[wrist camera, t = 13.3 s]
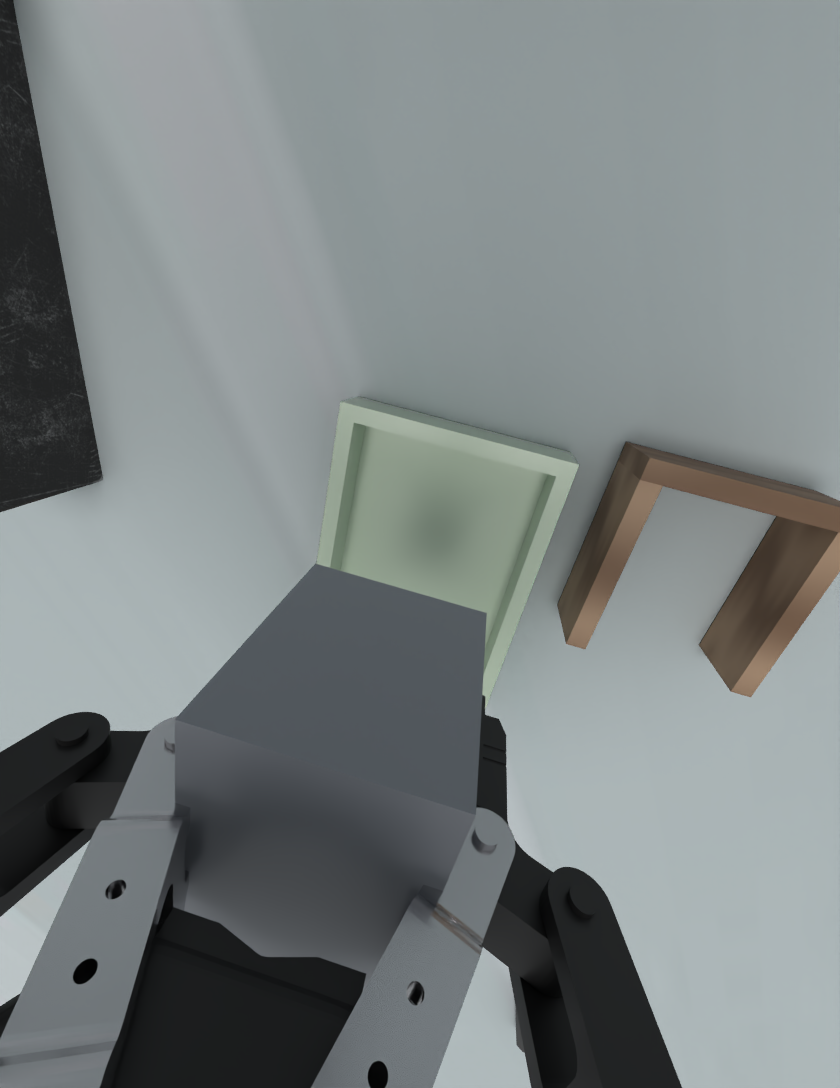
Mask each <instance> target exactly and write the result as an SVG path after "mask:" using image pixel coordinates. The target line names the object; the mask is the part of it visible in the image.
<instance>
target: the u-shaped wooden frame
mask: <svg viewBox="0 0 840 1088" xmlns="http://www.w3.org/2000/svg"><path fill="white" fill-rule="evenodd" d="M663 486H665V487H669V488H673V489H676V490H680V491H684V492H688V493H691V494H695V495H699V496H703V497H707V498H710V499H714V500H718V501H722V502H726V503H729V504H733V505H737V506H741V507H744V508H748V509H752V510H756V511H760V512H763V513H767V514H771V515H775V516H777V517H776V519H775V520H774V522H773V524H772V525H771V527H770V529H769V530H768V532H767V533H766V535H765V537H764V538H763V540H762V542H761V543H760V545H759V547H758V548H757V550H756V552H755V553H754V555H753V557H752V558H751V560H750V562H749V563H748V565H747V567H746V568H745V570H744V572H743V573H742V575H741V577H740V578H739V580H738V581H737V583H736V585H735V586H734V588H733V590H732V591H731V593H730V595H729V596H728V598H727V600H726V601H725V603H724V605H723V606H722V608H721V610H720V611H719V613H718V615H717V616H716V618H715V620H714V621H713V623H712V625H711V626H710V628H709V629H708V631H707V633H706V634H705V636H704V638H703V639H702V641H701V643H700V644H699V646H700V647H701V649H702V650H703V652H704V653H705V655H706V656H707V658H708V659H709V661H710V662H711V663H712V665H713V666H714V668H715V669H716V671H717V672H718V674H719V675H720V676H721V678H722V679H723V681H724V682H725V684H726V685H727V687H728V688H729V690H730V691H731V692H734V693H738V694H741V695H745V696H748V697H751V696H752V695H753V693H754V692H755V691H756V689H757V688H758V686H759V685H760V683H761V682H762V681H763V679H764V678H765V676H766V675H767V674H768V672H769V671H770V669H771V668H772V666H773V665H774V664H775V662H776V661H777V659H778V658H779V657H780V655H781V654H782V652H783V651H784V649H785V648H786V647H787V645H788V644H789V642H790V641H791V640H792V638H793V637H794V635H795V634H796V632H797V631H798V630H799V628H800V627H801V625H802V624H803V623H804V621H805V620H806V618H807V617H808V615H809V614H810V613H811V611H812V610H813V608H814V607H815V606H816V604H817V603H818V601H819V600H820V599H821V597H822V596H823V594H824V593H825V591H826V590H827V589H828V587H829V586H830V584H831V583H832V582H833V580H834V579H835V577H836V576H837V574H838V573H839V572H840V501H838V500H836V499H834V498H831V497H829V496H827V495H824V494H822V493H819V492H817V491H814V490H810V489H806V488H802V487H799V486H795V485H791V484H787V483H783V482H779V481H776V480H772V479H768V478H764V477H760V476H756V475H752V474H749V473H745V472H741V471H737V470H733V469H729V468H725V467H722V466H718V465H714V464H710V463H706V462H702V461H698V460H695V459H691V458H687V457H683V456H679V455H675V454H671V453H668V452H664V451H660V450H656V449H652V448H648V447H644V446H641V445H637V444H633V443H629V442H626V443H625V445H624V448H623V450H622V452H621V455H620V457H619V460H618V462H617V464H616V467H615V469H614V471H613V474H612V476H611V479H610V481H609V483H608V486H607V488H606V491H605V493H604V495H603V498H602V500H601V502H600V505H599V507H598V510H597V512H596V514H595V517H594V519H593V521H592V524H591V526H590V529H589V531H588V533H587V536H586V538H585V540H584V543H583V545H582V548H581V550H580V552H579V555H578V557H577V559H576V562H575V564H574V567H573V569H572V571H571V574H570V576H569V578H568V581H567V583H566V586H565V588H564V590H563V593H562V595H561V597H560V600H559V602H558V605H557V606H558V610H559V614H560V619H561V623H562V627H563V632H564V636H565V641H566V644H569V645H572V646H575V647H579V648H582V649H586V647H587V645H588V642H589V640H590V638H591V636H592V634H593V632H594V630H595V628H596V626H597V623H598V621H599V619H600V617H601V615H602V613H603V611H604V609H605V607H606V605H607V602H608V600H609V598H610V596H611V594H612V592H613V590H614V588H615V586H616V583H617V581H618V579H619V577H620V575H621V573H622V571H623V569H624V567H625V565H626V562H627V560H628V558H629V556H630V554H631V552H632V550H633V548H634V546H635V543H636V541H637V539H638V537H639V535H640V533H641V531H642V529H643V527H644V525H645V522H646V520H647V518H648V516H649V514H650V512H651V510H652V508H653V506H654V503H655V501H656V499H657V497H658V495H659V493H660V491H661V489H662V487H663Z"/></svg>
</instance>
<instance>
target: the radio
mask: <svg viewBox="0 0 840 1088" xmlns="http://www.w3.org/2000/svg"><path fill="white" fill-rule="evenodd" d="M102 478H103V476H102V471H101V465H100V460H99V455H98V449H97V444H96V439H95V434H94V428H93V423H92V418H91V412H90V407H89V402H88V396H87V391H86V386H85V381H84V375H83V370H82V365H81V359H80V354H79V349H78V343H77V338H76V333H75V327H74V322H73V317H72V312H71V306H70V301H69V296H68V290H67V285H66V280H65V274H64V269H63V264H62V258H61V253H60V248H59V243H58V237H57V232H56V227H55V221H54V216H53V211H52V205H51V200H50V195H49V190H48V184H47V179H46V174H45V168H44V163H43V158H42V152H41V147H40V142H39V136H38V131H37V126H36V121H35V115H34V110H33V105H32V99H31V94H30V89H29V83H28V78H27V73H26V67H25V62H24V57H23V52H22V46H21V41H20V36H19V30H18V25H17V20H16V14H15V9H14V4H13V0H0V512H2V511H6V510H9V509H12V508H15V507H19V506H22V505H25V504H28V503H31V502H35V501H38V500H41V499H44V498H48V497H51V496H54V495H57V494H60V493H64V492H67V491H70V490H73V489H77V488H80V487H83V486H86V485H90V484H93V483H96V482H99V481H101V480H102Z"/></svg>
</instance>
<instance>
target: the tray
mask: <svg viewBox="0 0 840 1088" xmlns="http://www.w3.org/2000/svg"><path fill="white" fill-rule="evenodd" d="M578 467H579V463H578V462H577V461H576V459H575V458H574V457H573V455H572V454H571V453H570V452H568V451H564V450H560V449H556V448H552V447H549V446H545V445H541V444H537V443H533V442H530V441H526V440H522V439H518V438H514V437H511V436H507V435H503V434H499V433H495V432H492V431H488V430H484V429H480V428H476V427H473V426H469V425H465V424H461V423H457V422H454V421H450V420H446V419H442V418H438V417H435V416H431V415H427V414H423V413H419V412H416V411H412V410H408V409H404V408H400V407H396V406H393V405H389V404H385V403H381V402H377V401H374V400H370V399H366V398H362V397H355V398H351V399H348V400H344V401H341V402H340V408H339V414H338V421H337V428H336V435H335V442H334V448H333V455H332V462H331V469H330V475H329V482H328V489H327V496H326V502H325V509H324V516H323V523H322V529H321V536H320V543H319V550H318V556H317V563H316V564H319V565H322V566H326V567H329V568H333V569H336V570H340V571H343V572H346V573H350V574H353V575H357V576H360V577H364V578H367V579H371V580H374V581H378V582H381V583H385V584H388V585H392V586H395V587H398V588H402V589H405V590H409V591H412V592H416V593H419V594H423V595H426V596H430V597H433V598H437V599H440V600H444V601H447V602H450V603H454V604H457V605H461V606H464V607H468V608H471V609H475V610H478V611H482V612H485V613H487V618H486V637H485V655H484V673H483V692H482V695H484V696H485V708H486V706H487V703H488V700H489V698H490V695H491V693H492V690H493V687H494V685H495V682H496V680H497V677H498V674H499V672H500V669H501V667H502V664H503V662H504V659H505V656H506V654H507V651H508V649H509V646H510V643H511V641H512V638H513V636H514V633H515V630H516V628H517V625H518V623H519V620H520V617H521V615H522V612H523V610H524V607H525V604H526V602H527V599H528V597H529V594H530V591H531V589H532V586H533V584H534V581H535V578H536V576H537V573H538V571H539V568H540V566H541V563H542V560H543V558H544V555H545V553H546V550H547V547H548V545H549V542H550V540H551V537H552V534H553V532H554V529H555V527H556V524H557V521H558V519H559V516H560V514H561V511H562V508H563V506H564V503H565V501H566V498H567V495H568V493H569V490H570V488H571V485H572V483H573V480H574V477H575V475H576V472H577V470H578Z"/></svg>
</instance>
